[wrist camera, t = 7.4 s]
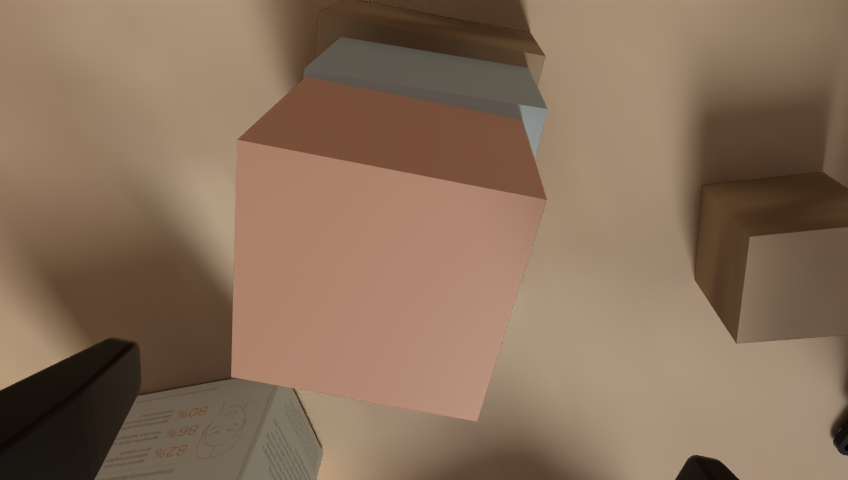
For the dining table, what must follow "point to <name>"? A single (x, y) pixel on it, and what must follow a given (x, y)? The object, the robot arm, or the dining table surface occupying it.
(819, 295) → the walnut block
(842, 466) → the dining table surface
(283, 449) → the small box
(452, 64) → the slate middle block
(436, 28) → the walnut base block
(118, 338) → the robot arm
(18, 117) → the dining table surface
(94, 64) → the dining table surface
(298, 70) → the dining table surface
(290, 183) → the terracotta cube
